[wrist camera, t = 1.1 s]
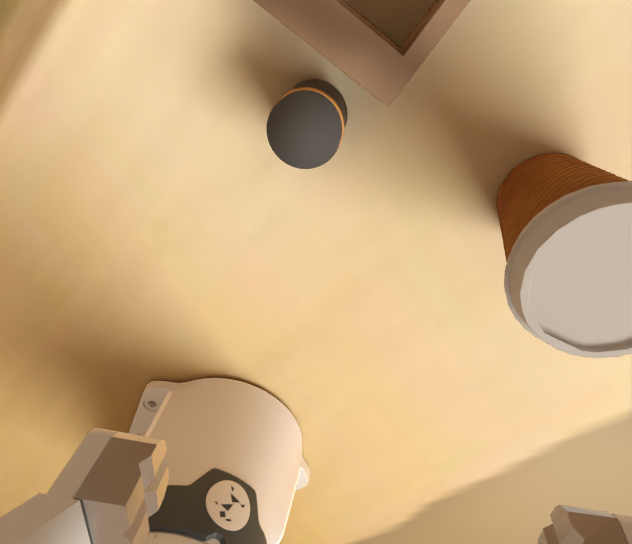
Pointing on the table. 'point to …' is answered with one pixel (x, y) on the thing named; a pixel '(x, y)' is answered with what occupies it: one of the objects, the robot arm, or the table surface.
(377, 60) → the brown wooden frame
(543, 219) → the disposable coffee cup
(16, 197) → the table surface
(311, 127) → the orange-banded dark cylinder
